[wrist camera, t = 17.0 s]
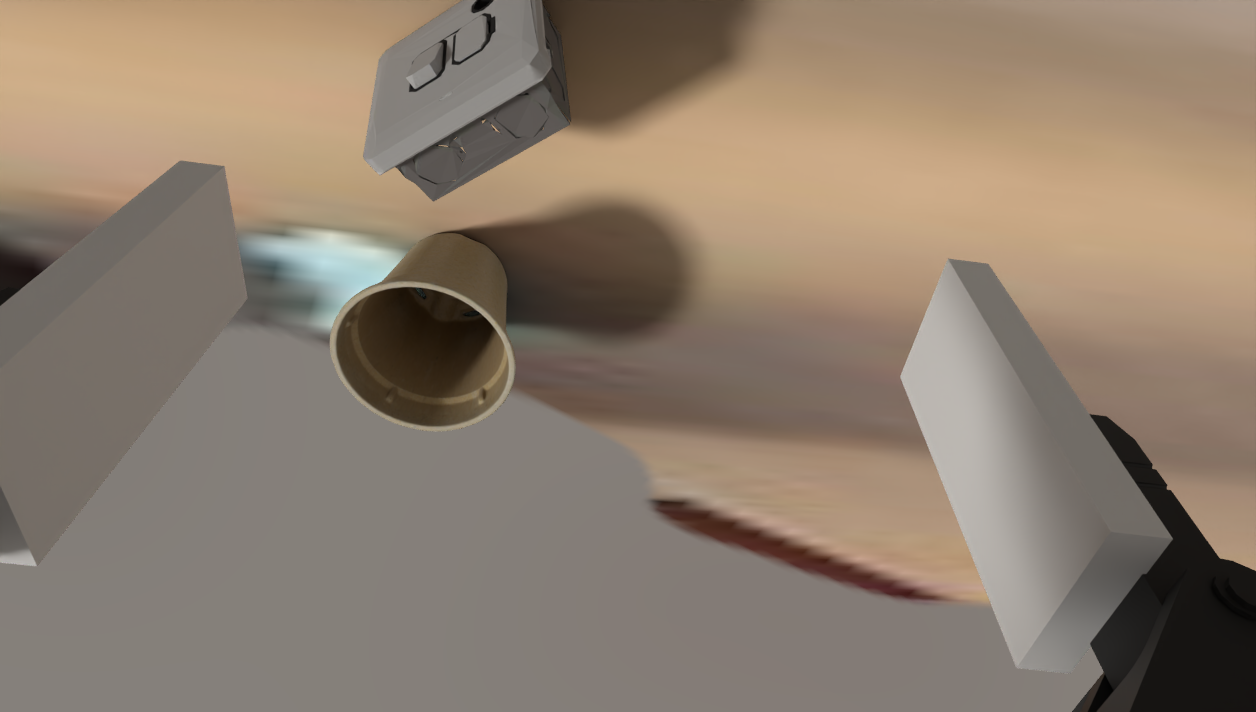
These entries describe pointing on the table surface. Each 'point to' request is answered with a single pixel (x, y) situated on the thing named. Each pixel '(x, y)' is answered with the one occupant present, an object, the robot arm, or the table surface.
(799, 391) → the table surface
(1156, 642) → the robot arm
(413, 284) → the flower pot
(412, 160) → the electrical switch
